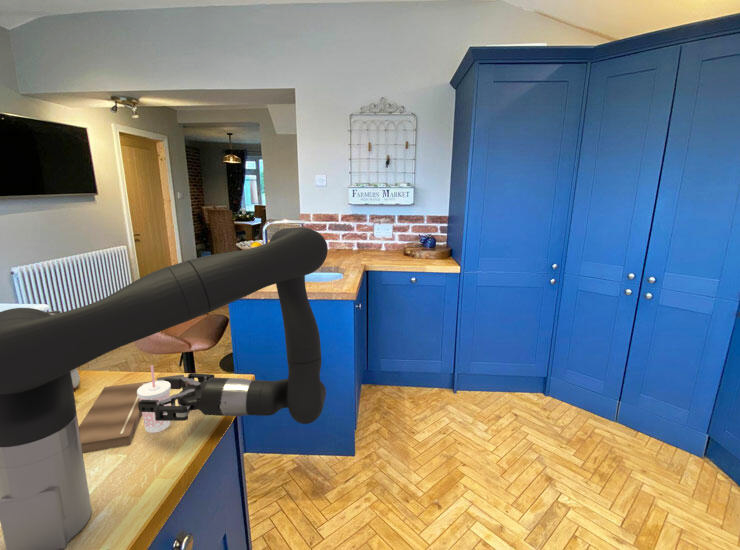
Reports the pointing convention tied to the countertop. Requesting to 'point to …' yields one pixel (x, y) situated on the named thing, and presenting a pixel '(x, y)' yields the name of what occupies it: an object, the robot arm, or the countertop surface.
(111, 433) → the walnut board
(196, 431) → the countertop surface
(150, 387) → the beverage cup
